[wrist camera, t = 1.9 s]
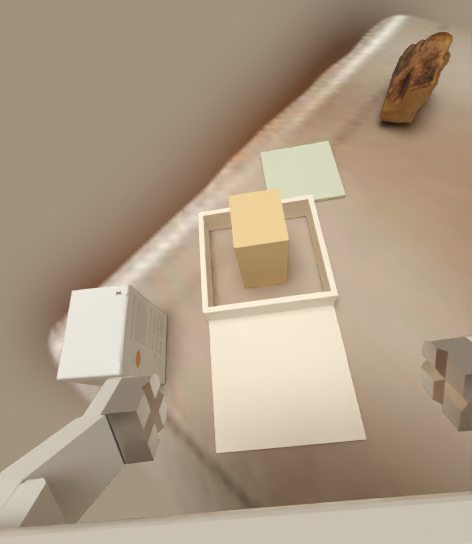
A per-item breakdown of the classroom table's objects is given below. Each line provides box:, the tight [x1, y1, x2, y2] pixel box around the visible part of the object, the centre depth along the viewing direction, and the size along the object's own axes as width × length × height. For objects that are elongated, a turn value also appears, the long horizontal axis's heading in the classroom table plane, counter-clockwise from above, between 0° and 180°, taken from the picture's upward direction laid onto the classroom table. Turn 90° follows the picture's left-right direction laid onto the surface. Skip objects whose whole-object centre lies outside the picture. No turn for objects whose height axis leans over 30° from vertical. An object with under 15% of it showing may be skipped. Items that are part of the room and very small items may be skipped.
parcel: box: [229, 188, 289, 288], centre depth 33 cm, size 5×6×10 cm
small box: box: [56, 284, 167, 386], centre depth 30 cm, size 8×6×10 cm
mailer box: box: [198, 194, 366, 453], centre depth 33 cm, size 14×26×4 cm, turn 5°
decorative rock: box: [380, 32, 452, 123], centre depth 40 cm, size 12×6×11 cm, turn 152°
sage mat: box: [260, 141, 345, 202], centre depth 42 cm, size 10×10×1 cm
